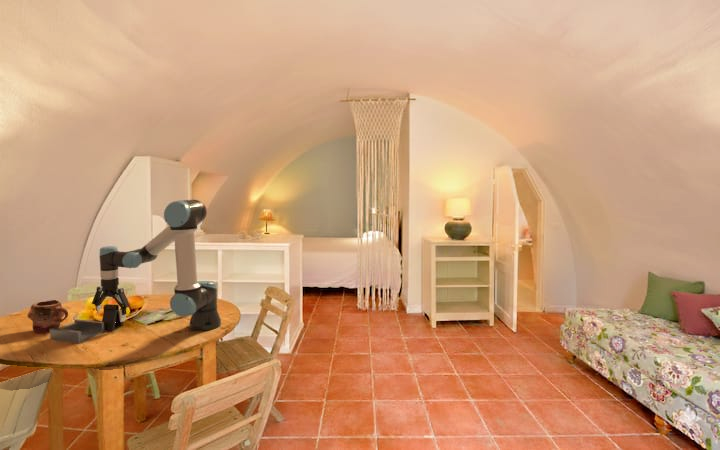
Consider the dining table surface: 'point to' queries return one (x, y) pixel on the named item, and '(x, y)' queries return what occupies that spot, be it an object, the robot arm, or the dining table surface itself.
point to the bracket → (77, 331)
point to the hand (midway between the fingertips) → (111, 319)
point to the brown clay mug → (47, 316)
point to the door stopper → (111, 317)
